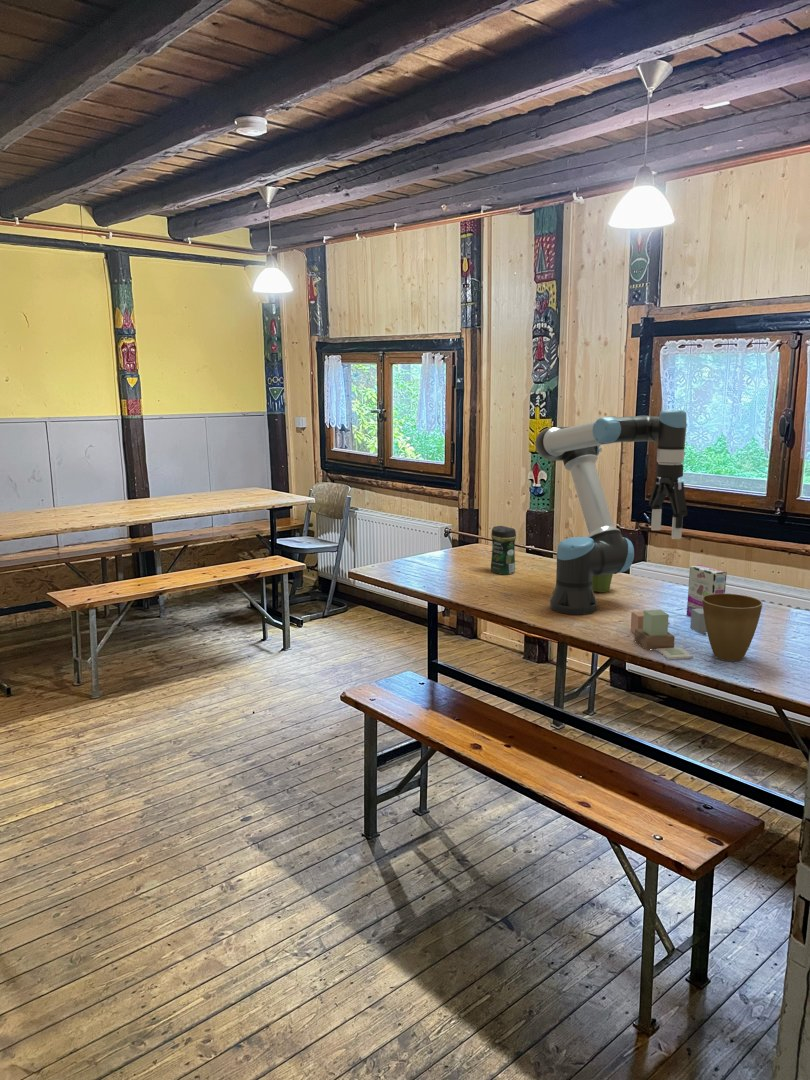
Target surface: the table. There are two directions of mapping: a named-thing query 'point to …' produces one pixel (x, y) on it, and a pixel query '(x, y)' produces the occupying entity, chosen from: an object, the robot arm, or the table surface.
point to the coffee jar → (503, 550)
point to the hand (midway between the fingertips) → (665, 534)
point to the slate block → (698, 620)
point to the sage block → (655, 622)
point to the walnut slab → (653, 640)
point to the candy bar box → (704, 585)
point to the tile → (674, 653)
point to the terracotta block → (637, 620)
